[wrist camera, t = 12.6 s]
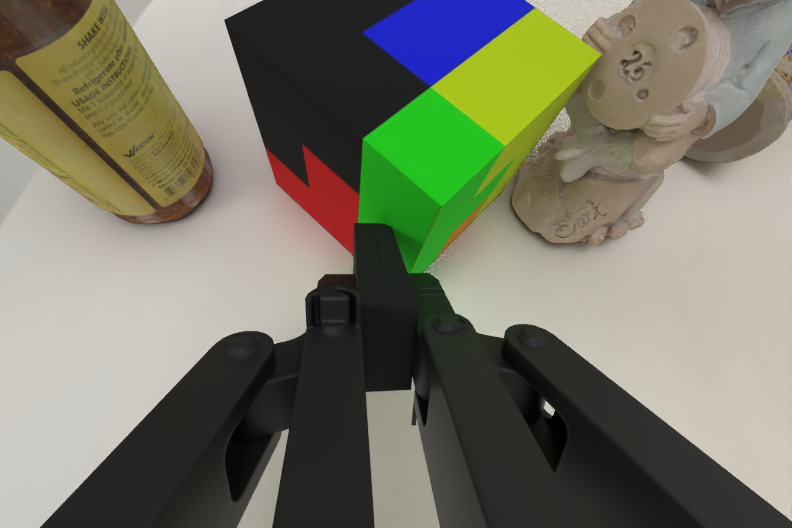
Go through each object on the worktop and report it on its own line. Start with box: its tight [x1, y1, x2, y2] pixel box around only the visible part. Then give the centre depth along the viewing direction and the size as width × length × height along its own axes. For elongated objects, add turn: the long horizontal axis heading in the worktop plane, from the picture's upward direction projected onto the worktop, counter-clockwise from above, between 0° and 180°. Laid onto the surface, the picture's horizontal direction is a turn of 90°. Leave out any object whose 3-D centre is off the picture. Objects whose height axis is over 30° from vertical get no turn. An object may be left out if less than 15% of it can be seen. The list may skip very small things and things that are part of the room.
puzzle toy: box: [224, 0, 602, 273], centre depth 18 cm, size 10×10×10 cm
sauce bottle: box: [0, 0, 212, 224], centre depth 12 cm, size 6×6×20 cm
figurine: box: [512, 0, 792, 246], centre depth 15 cm, size 9×8×20 cm
